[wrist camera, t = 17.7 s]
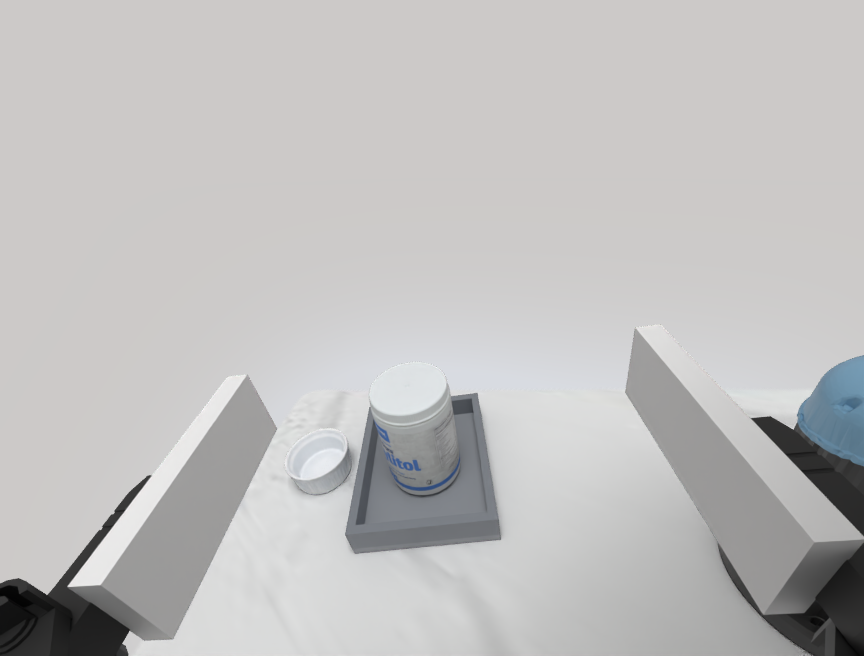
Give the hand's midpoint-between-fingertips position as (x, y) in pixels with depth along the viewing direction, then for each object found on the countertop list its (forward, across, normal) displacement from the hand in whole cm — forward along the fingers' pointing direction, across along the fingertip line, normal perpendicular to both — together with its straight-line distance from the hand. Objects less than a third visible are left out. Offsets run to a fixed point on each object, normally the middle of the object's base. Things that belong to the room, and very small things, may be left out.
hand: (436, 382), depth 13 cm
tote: (+23, -7, -35) cm, 42 cm away
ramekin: (+24, -22, -35) cm, 48 cm away
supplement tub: (+23, -7, -34) cm, 41 cm away
